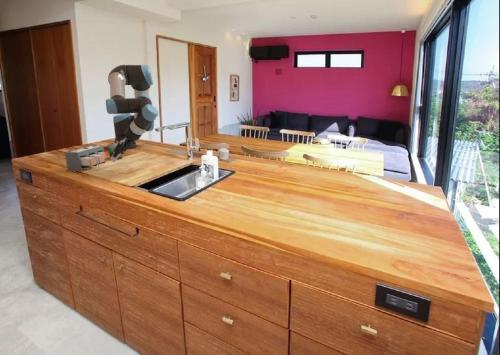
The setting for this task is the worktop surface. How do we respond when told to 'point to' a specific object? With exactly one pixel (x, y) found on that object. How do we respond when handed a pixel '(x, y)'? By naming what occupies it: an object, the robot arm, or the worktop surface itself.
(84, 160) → the plunger
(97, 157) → the plunger middle
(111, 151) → the food container
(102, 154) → the plunger
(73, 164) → the grey slotted holder
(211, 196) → the worktop surface
